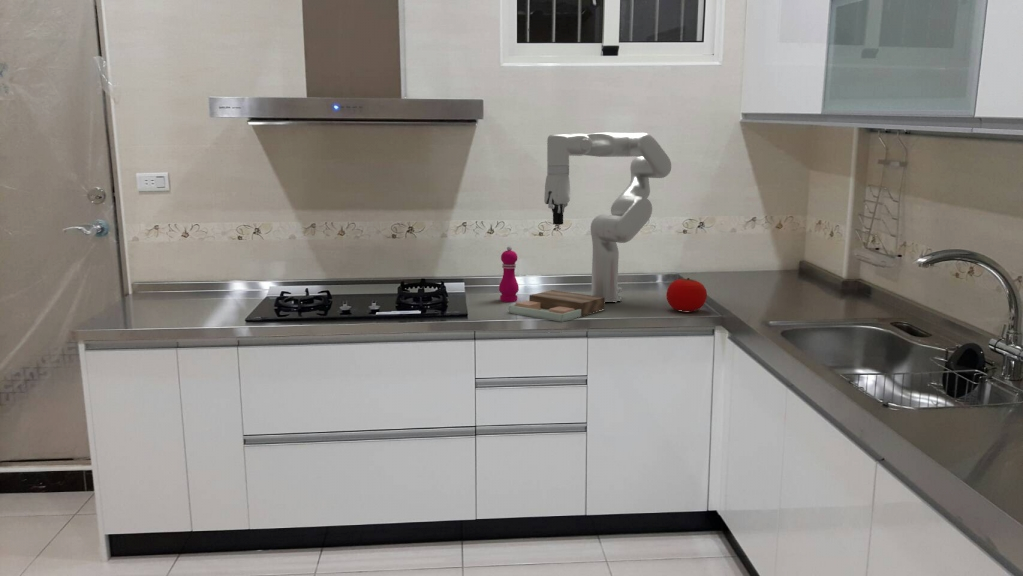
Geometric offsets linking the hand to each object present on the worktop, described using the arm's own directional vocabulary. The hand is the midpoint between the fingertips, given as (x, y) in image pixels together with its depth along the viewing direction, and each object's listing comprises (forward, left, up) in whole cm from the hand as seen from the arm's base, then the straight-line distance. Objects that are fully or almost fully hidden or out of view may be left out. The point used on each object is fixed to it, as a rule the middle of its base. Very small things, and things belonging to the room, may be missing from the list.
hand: (558, 224), depth 277 cm
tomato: (-24, +38, -29) cm, 54 cm away
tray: (+14, +5, -29) cm, 33 cm away
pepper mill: (+2, -20, -29) cm, 35 cm away
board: (+1, +5, -29) cm, 30 cm away
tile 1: (+14, -2, -26) cm, 30 cm away
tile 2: (+15, +13, -26) cm, 32 cm away
